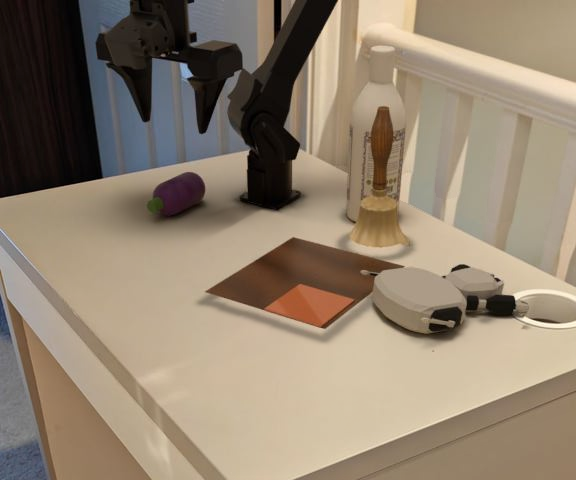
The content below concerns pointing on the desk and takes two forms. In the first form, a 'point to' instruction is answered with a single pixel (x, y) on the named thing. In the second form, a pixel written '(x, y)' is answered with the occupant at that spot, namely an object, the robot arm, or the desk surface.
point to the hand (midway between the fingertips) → (174, 127)
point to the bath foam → (361, 123)
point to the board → (302, 275)
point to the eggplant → (177, 194)
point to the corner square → (310, 305)
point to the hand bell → (379, 193)
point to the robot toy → (439, 297)
